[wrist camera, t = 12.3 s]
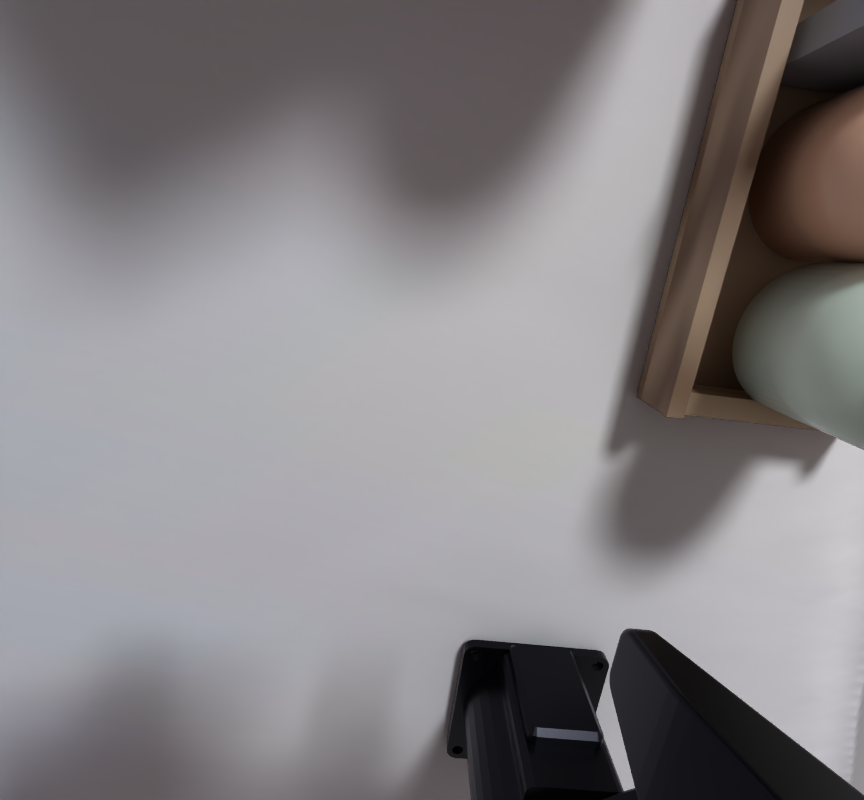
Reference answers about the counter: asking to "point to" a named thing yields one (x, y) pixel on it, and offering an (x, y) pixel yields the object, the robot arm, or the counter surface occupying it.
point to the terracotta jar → (814, 183)
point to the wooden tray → (726, 226)
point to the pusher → (828, 49)
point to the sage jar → (808, 348)
